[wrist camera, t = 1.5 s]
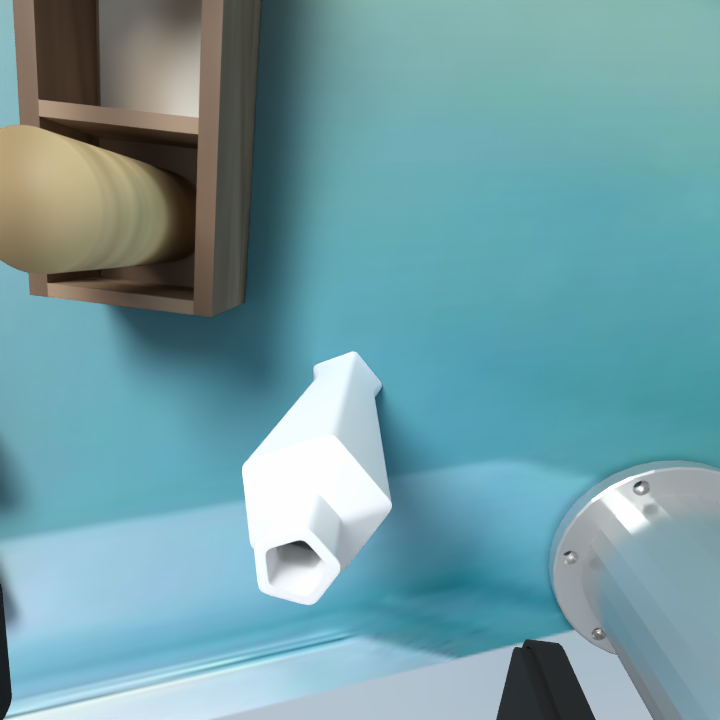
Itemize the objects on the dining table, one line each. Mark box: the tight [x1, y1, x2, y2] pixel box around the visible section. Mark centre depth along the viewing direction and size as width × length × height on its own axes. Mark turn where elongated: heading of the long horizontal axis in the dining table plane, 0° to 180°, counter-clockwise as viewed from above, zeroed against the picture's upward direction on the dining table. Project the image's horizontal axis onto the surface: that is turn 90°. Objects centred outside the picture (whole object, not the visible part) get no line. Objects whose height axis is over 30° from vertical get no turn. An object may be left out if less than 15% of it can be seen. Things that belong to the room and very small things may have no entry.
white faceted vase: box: [242, 352, 392, 605], centre depth 19 cm, size 5×4×15 cm
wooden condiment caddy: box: [0, 0, 261, 317], centre depth 18 cm, size 8×22×10 cm, turn 173°
